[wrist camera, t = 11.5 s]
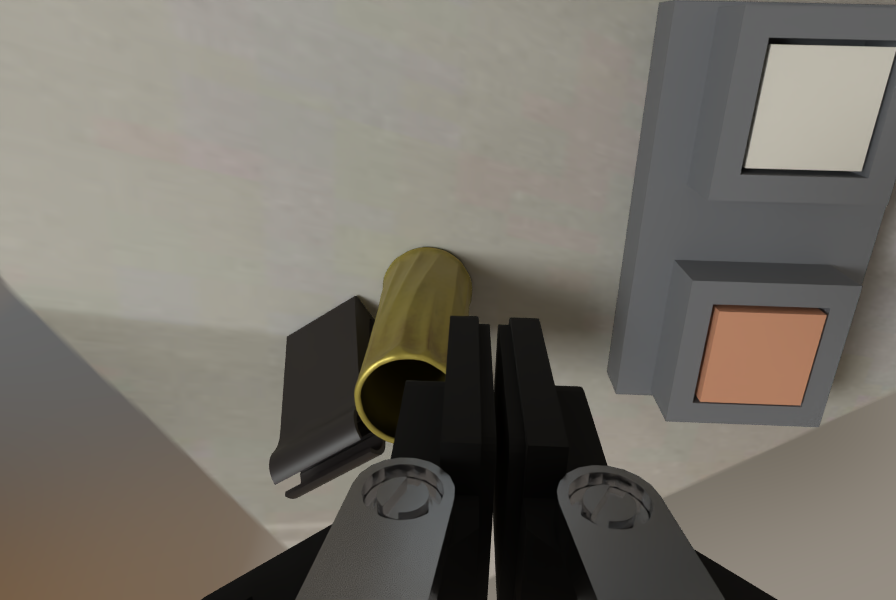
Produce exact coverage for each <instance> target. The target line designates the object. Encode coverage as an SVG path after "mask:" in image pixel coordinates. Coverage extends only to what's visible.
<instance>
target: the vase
mask: <svg viewBox="0 0 896 600" xmlns="http://www.w3.org/2000/svg"><path fill="white" fill-rule="evenodd" d="M471 297H472V282H471V279H470V276H469V274H468V272H467V271H466V269H465V267H464V266H463V264H462V263H461V262H460V260H458V259H457V258H456V257H454V256H453V255H452V254H450V253H448V252H446V251H444V250H441V249H437V248H431V247H422V248H416V249H413V250H410V251H408V252H406V253H404V254H402V255H401V256H399V257H398V258H396V259H395V260H394V261H393V262H392V264H391V265H390V267H389V268H388V270H387V272H386V274H385V276H384V280H383V290H382V294H381V298H380V303H379V308H378V311H377V315H376V319H375V323H374V326H373V329H372V333H371V337H370V340H369V344H368V348H367V351H366V354H365V357H364V361H363V364H362V367H361V370H360V373H359V377H358V380H357V382H356V385H355V391H354V398H355V406H356V410H357V412H358V414H359V416H360V418H361V420H362V421H363V423H364V424H365V425H366V426H367V428H368V429H369V430H370V431H371V432H372V433H373V434H375V435H376V436H378V437H380V438H381V439H383V440H385V441H387V442H391V443H394V439H395V434H396V429H397V424H398V418H399V413H400V408H401V403H402V397H403V392H404V387H405V382H406V380H415V381H442V382H445V377H446V363H447V350H448V337H449V324H450V316H469V305H470V302H471Z"/></svg>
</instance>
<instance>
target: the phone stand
mask: <svg viewBox="0 0 896 600" xmlns="http://www.w3.org/2000/svg"><path fill="white" fill-rule="evenodd" d="M374 323H375V320H374V319H373V317H372V316H371V315H370V313H369V312H368V310H367V309H366V308H365V306H364V305H363V304H362V302H361V301H360V300H359V298H358V297H357V296H354V297H352V298H351V299H349V300H347V301H346V302H344V303H342V304H341V305H339V306H337V307H336V308H334V309H332V310H331V311H329V312H327V313H326V314H324V315H322V316H321V317H319V318H317V319H316V320H314V321H312V322H311V323H309V324H307V325H306V326H304V327H302V328H301V329H299V330H297V331H296V332H294V333H292V334H291V335H289V336H287V344H286V359H285V373H284V387H283V402H282V416H281V430H280V439H279V443H278V446H277V448H276V450H275V451H274V452H273V453H272V455H271V457H270V461H269V469H270V474H271V477H272V480H273V482H274V484H275V485H276V484H278V483H280V482H281V481H283V480H285V479H287V478H289V477H291V476H293V475H295V474H297V473H298V472H301V474H300V477H301V484H299V485H298V486H296V487H294V488H292V489H290V490H288V491H286V492H285V496H286V497H288V498H291V499H295V498H298V497H300V496H302V495H304V494H306V493H308V492H309V491H311V490H313V489H315V488H317V487H319V486H321V485H323V484H325V483H327V482H329V481H331V480H333V479H335V478H337V477H338V476H340V475H342V474H344V473H346V472H348V471H350V470H352V469H354V468H356V467H358V466H360V465H362V464H364V463H366V462H368V461H369V460H371V459H373V458H375V457H377V456H379V455H381V454H382V453H383V452H384V450H385V440H383V439H381V438H380V437H378V436H376V435H375V434H373V433H372V432H371V431H370V430H369V429H368V428H367V426H366V425H365V424H364V423H363V421H362V420H361V418H360V416H359V414H358V412H357V410H356V406H355V398H354V391H355V385H356V382H357V380H358V377H359V373H360V370H361V367H362V364H363V361H364V357H365V354H366V351H367V348H368V344H369V340H370V337H371V333H372V329H373V326H374Z"/></svg>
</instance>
